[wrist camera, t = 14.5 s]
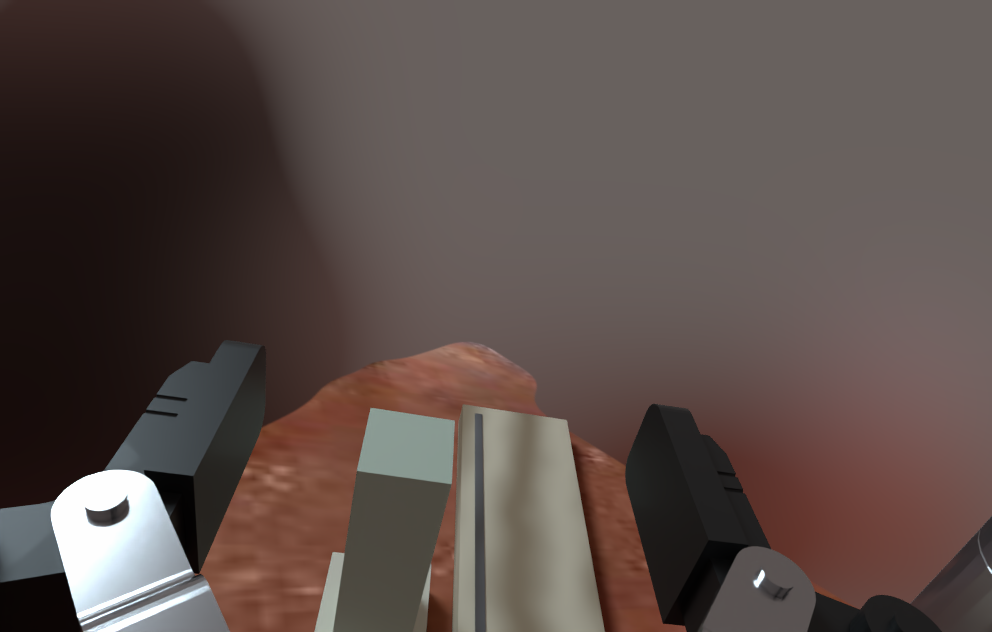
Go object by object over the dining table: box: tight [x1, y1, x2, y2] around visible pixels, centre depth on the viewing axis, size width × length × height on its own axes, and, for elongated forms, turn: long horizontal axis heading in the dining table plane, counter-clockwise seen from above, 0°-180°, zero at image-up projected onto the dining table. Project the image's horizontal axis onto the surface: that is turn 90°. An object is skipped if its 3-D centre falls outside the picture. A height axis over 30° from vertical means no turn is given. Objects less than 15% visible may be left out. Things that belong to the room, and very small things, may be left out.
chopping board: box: [452, 405, 605, 632], centre depth 44 cm, size 9×26×2 cm, turn 2°
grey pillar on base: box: [315, 408, 455, 632], centre depth 33 cm, size 6×8×16 cm
